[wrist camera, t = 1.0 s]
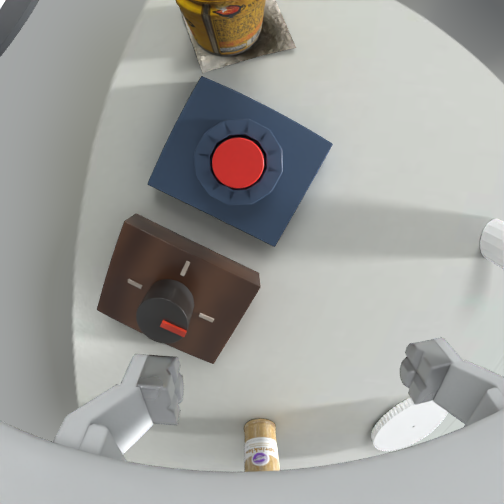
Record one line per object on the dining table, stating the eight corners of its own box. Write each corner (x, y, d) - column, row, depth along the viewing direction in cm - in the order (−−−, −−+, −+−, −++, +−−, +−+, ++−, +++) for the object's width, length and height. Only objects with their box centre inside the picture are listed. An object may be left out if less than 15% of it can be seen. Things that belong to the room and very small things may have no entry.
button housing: (154, 181, 25) (140, 187, 22) (204, 81, 22) (197, 70, 19) (272, 239, 28) (276, 254, 24) (326, 144, 25) (340, 144, 21)
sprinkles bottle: (268, 414, 36) (276, 499, 23) (280, 430, 37) (289, 509, 25) (237, 422, 36) (237, 505, 24) (250, 437, 38) (253, 515, 25)
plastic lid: (453, 399, 38) (459, 408, 36) (394, 446, 42) (398, 455, 39) (423, 375, 35) (430, 386, 33) (352, 431, 38) (356, 443, 36)
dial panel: (107, 296, 29) (95, 310, 26) (135, 213, 26) (123, 221, 23) (215, 346, 32) (213, 365, 29) (259, 272, 29) (260, 287, 26)
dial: (141, 308, 26) (129, 331, 23) (156, 270, 25) (143, 290, 21) (183, 328, 27) (176, 353, 24) (202, 292, 26) (195, 315, 22)
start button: (206, 172, 22) (203, 174, 20) (228, 130, 21) (226, 128, 19) (248, 193, 23) (248, 197, 21) (271, 152, 21) (273, 152, 20)
